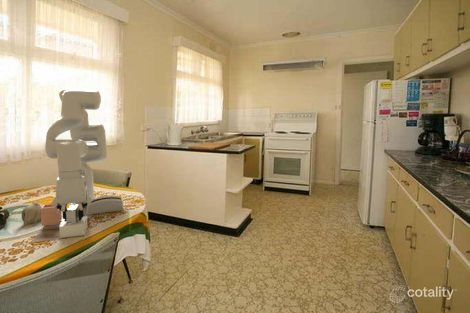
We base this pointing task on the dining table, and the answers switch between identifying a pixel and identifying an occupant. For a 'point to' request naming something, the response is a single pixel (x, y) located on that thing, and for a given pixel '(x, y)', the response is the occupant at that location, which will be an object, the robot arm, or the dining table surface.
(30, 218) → the grey rounded lump
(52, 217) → the block
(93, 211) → the grey arched block
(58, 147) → the robot arm
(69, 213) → the steel key
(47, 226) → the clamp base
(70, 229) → the white holed block
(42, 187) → the dining table surface
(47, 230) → the grey flat plate
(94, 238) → the dining table surface
